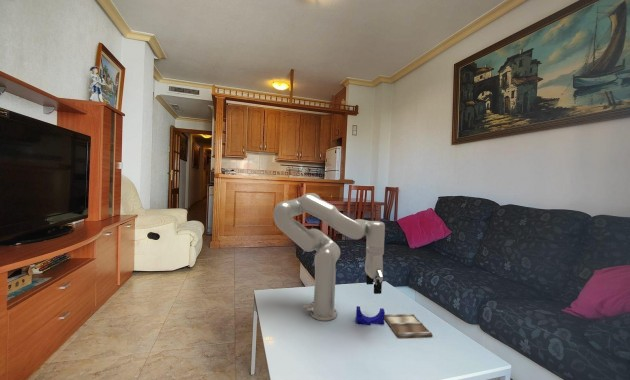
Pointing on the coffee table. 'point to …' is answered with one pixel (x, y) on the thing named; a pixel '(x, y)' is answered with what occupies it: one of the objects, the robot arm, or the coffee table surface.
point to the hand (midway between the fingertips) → (373, 288)
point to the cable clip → (369, 320)
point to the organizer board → (406, 326)
